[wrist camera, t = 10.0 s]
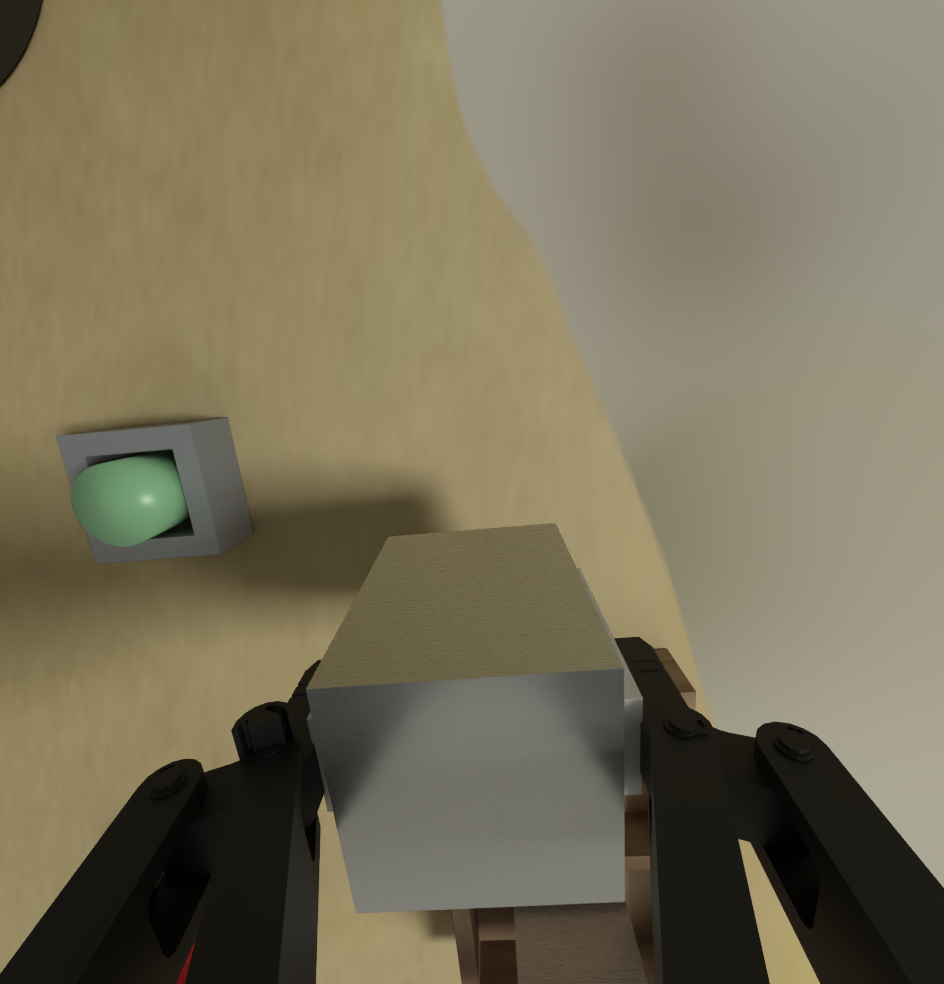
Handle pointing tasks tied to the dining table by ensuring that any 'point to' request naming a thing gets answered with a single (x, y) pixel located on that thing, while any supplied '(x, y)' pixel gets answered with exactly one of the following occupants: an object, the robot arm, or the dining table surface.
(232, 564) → the dining table surface
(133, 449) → the button housing
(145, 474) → the button
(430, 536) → the block
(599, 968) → the block
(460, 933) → the wooden cubby shelf
